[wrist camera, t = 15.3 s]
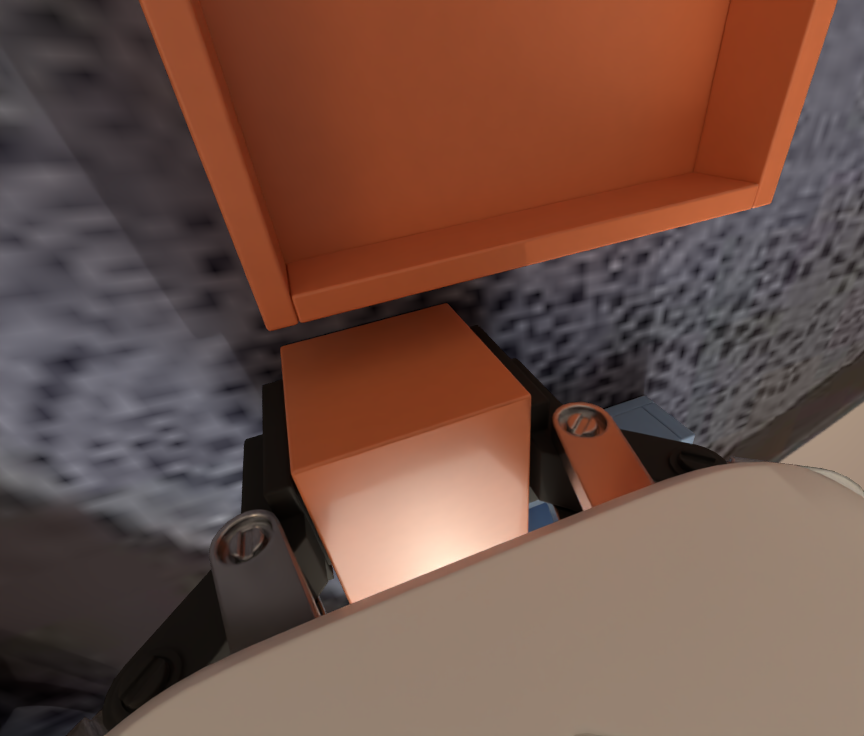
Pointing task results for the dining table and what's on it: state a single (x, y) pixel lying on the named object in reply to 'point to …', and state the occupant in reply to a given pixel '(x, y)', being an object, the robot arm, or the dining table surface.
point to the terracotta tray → (475, 130)
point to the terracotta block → (406, 446)
